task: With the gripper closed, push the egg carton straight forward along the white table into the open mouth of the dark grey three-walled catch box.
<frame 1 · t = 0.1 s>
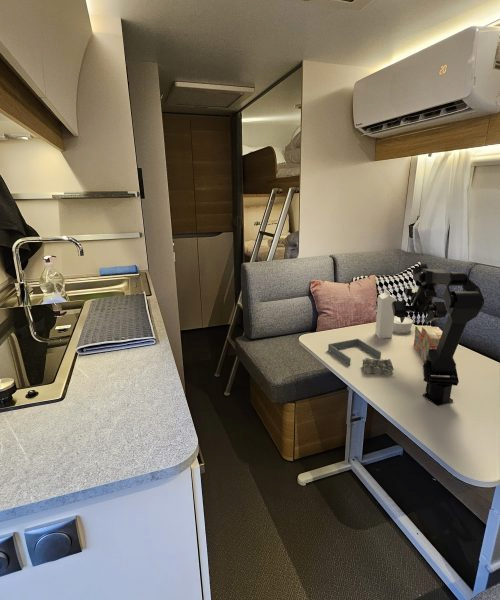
hand: (413, 322, 137), 15 cm above the table, tool tilted 30°, fingers open, 9 cm apart
milk: (383, 336, 162), on the table
egg carton: (376, 371, 131), on the table
catch box: (353, 354, 144), on the table
ramekin: (399, 330, 169), on the table
stack of blocks: (427, 356, 141), on the table
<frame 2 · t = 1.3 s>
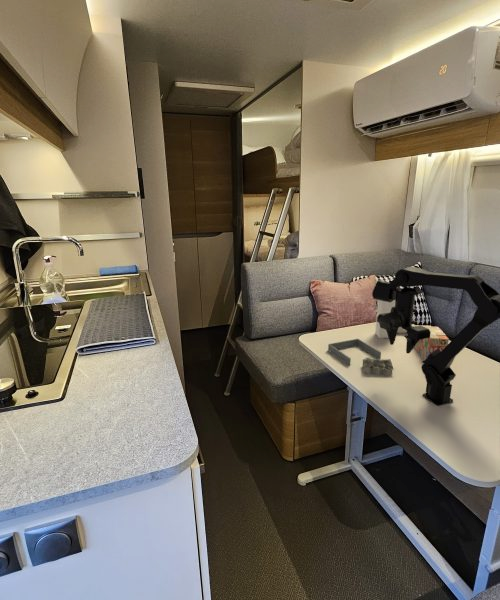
hand: (399, 348, 118), 13 cm above the table, tool pointing down, fingers open, 7 cm apart
nothing on the table moved.
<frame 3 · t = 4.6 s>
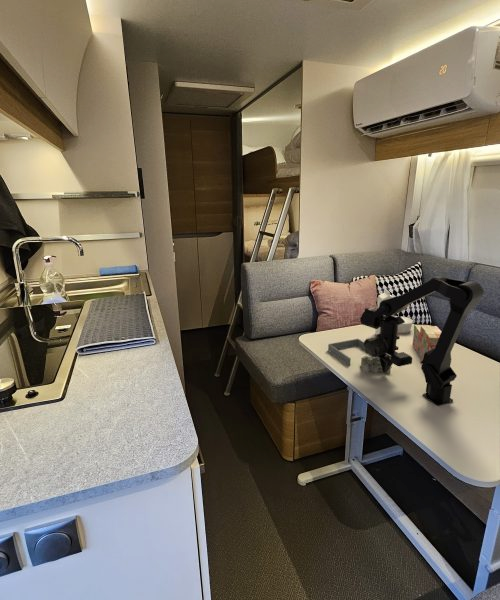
hand: (384, 372, 126), 1 cm above the table, tool pointing down, fingers closed
egg carton: (375, 369, 132), on the table
everything else where it was.
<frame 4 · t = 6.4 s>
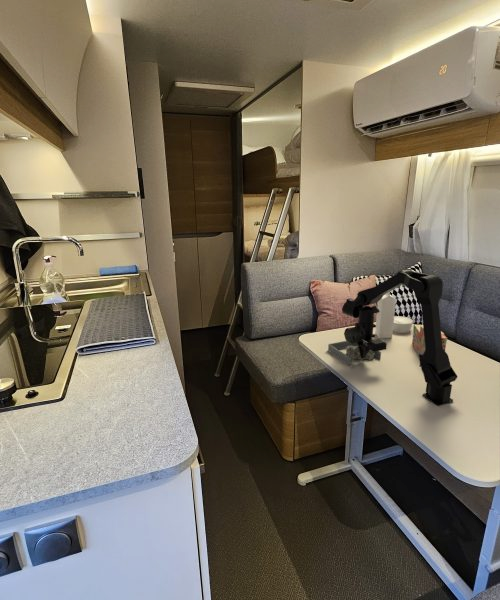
hand: (362, 358, 137), 1 cm above the table, tool pointing down, fingers closed
egg carton: (359, 356, 143), on the table, touching catch box, gripper
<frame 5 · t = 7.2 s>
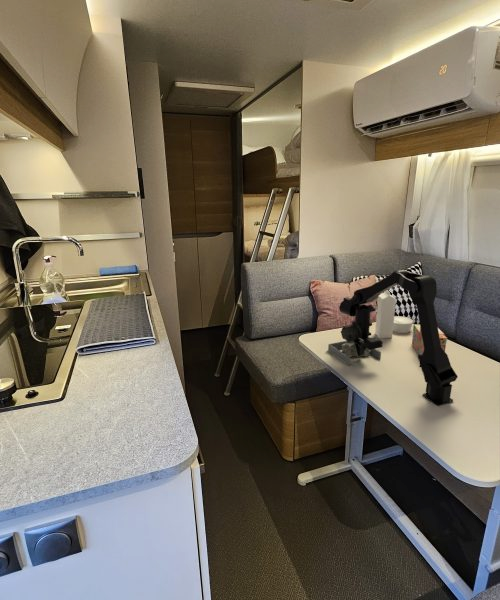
hand: (359, 356, 140), 1 cm above the table, tool pointing down, fingers closed
egg carton: (355, 353, 145), on the table, touching gripper
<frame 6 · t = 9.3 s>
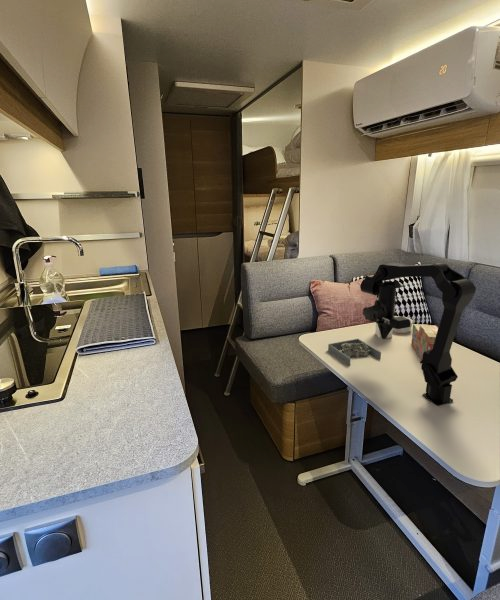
hand: (383, 338, 128), 13 cm above the table, tool pointing down, fingers closed
egg carton: (354, 353, 145), on the table
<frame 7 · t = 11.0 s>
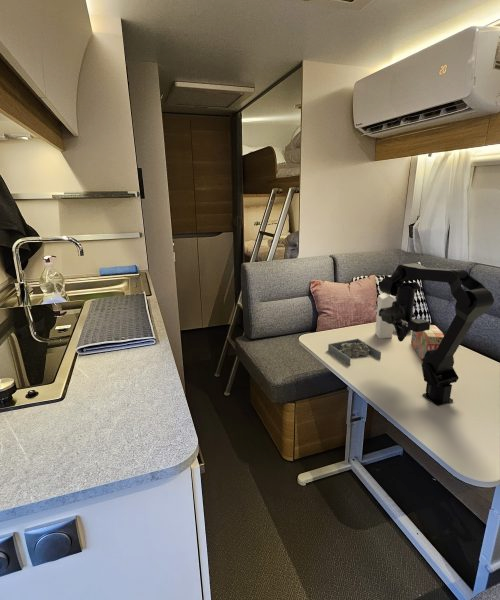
hand: (400, 341, 124), 13 cm above the table, tool pointing down, fingers closed
at the end: egg carton 2.3 cm off-centre on the catch box, point -0.5 cm above the catch box's base; egg carton moved 16.0 cm from its start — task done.
